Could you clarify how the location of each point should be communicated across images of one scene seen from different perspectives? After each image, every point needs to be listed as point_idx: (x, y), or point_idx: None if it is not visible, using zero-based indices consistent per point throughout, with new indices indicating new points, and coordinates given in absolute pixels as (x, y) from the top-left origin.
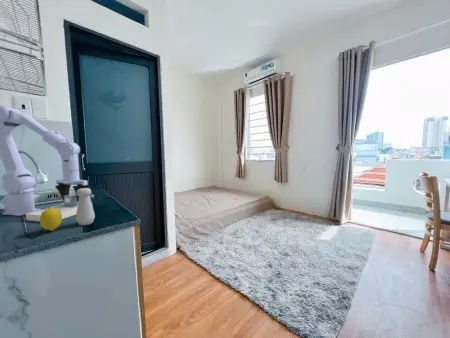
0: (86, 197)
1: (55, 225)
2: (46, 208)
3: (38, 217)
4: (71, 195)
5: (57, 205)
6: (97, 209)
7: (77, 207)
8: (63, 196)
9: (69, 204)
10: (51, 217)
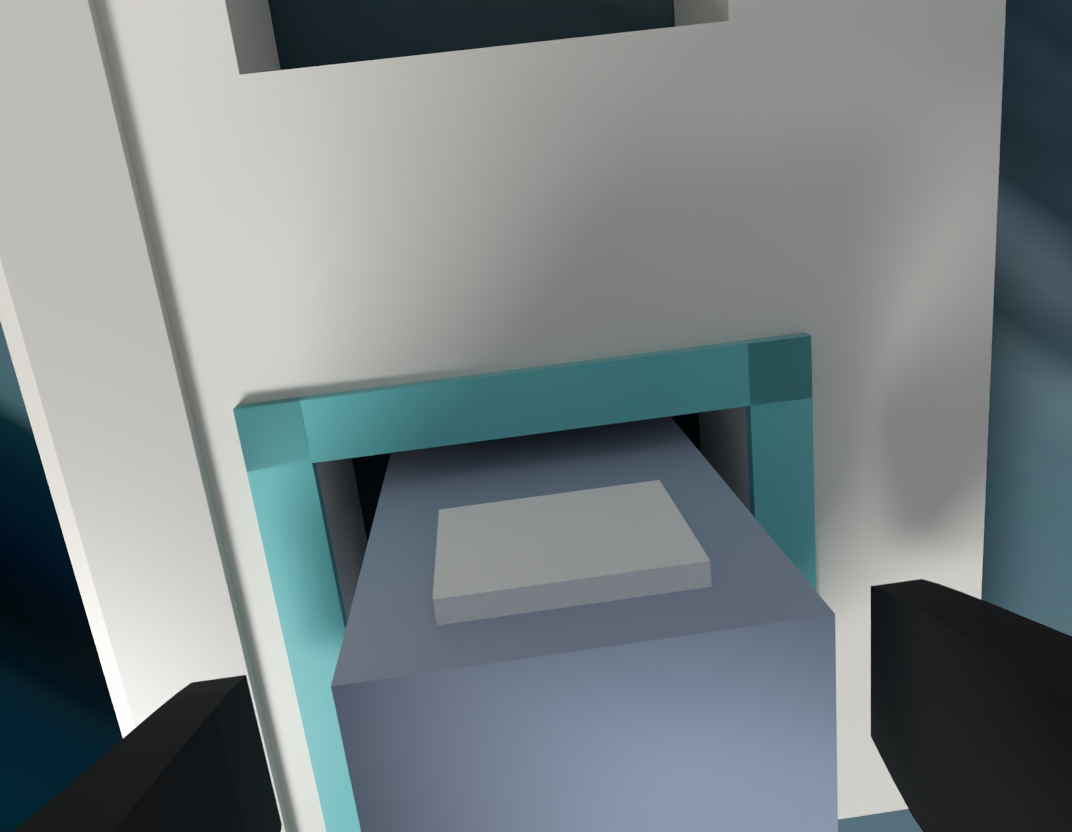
0: None
1: None
2: (985, 37)
3: None
4: (570, 817)
5: (974, 407)
6: (32, 798)
7: (62, 461)
8: (979, 672)
9: (481, 492)
10: None
